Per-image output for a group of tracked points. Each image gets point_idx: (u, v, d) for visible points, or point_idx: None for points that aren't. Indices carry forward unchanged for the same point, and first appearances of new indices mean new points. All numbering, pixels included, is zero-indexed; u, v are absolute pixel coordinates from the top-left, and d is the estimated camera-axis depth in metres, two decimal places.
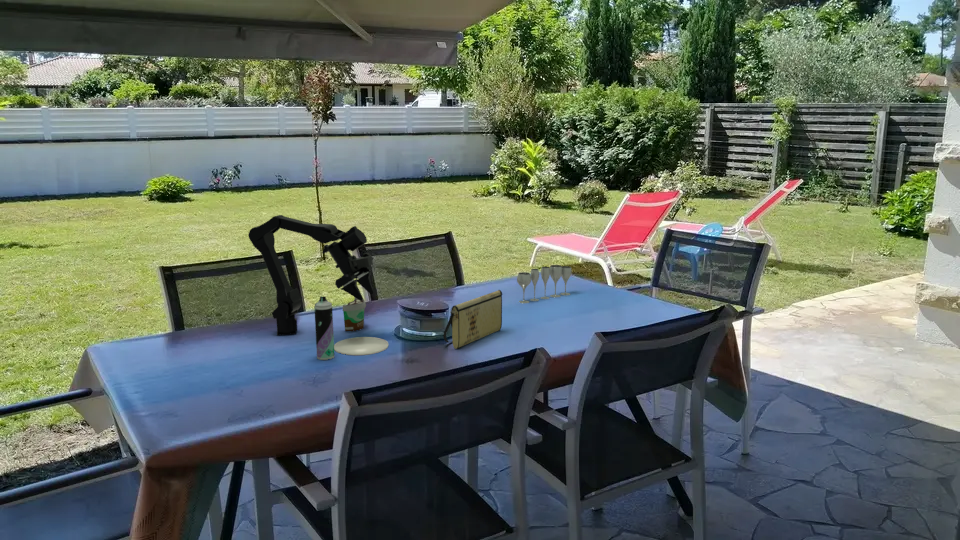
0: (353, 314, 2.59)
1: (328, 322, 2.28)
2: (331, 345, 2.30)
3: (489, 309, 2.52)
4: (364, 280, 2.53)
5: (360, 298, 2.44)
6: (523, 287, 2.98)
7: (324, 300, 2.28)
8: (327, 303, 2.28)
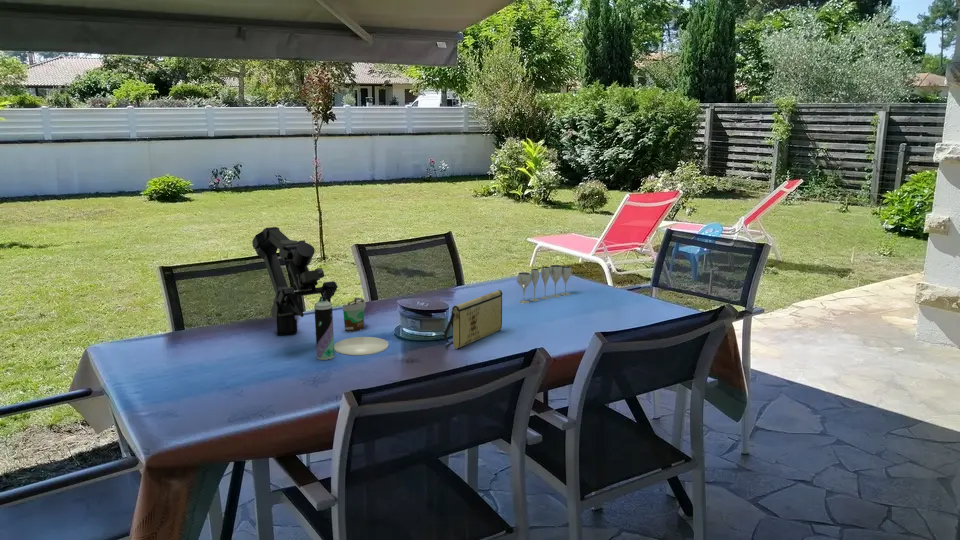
0: (353, 314, 2.59)
1: (328, 322, 2.28)
2: (331, 345, 2.30)
3: (489, 309, 2.52)
4: None
5: (300, 314, 2.32)
6: (523, 287, 2.98)
7: (324, 300, 2.28)
8: (327, 303, 2.28)
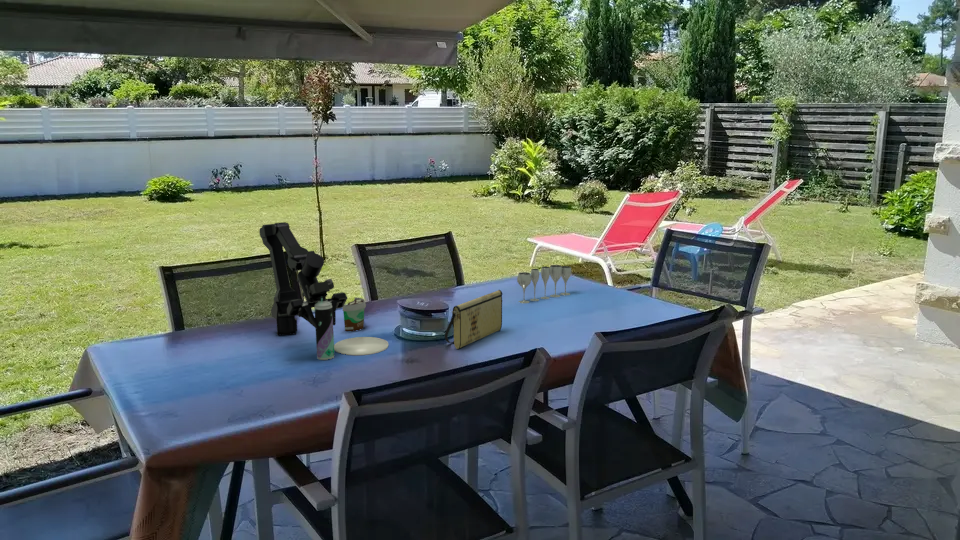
0: (353, 314, 2.59)
1: (328, 322, 2.28)
2: (331, 345, 2.30)
3: (489, 309, 2.52)
4: None
5: (315, 326, 2.28)
6: (523, 287, 2.98)
7: (324, 300, 2.28)
8: (327, 303, 2.28)
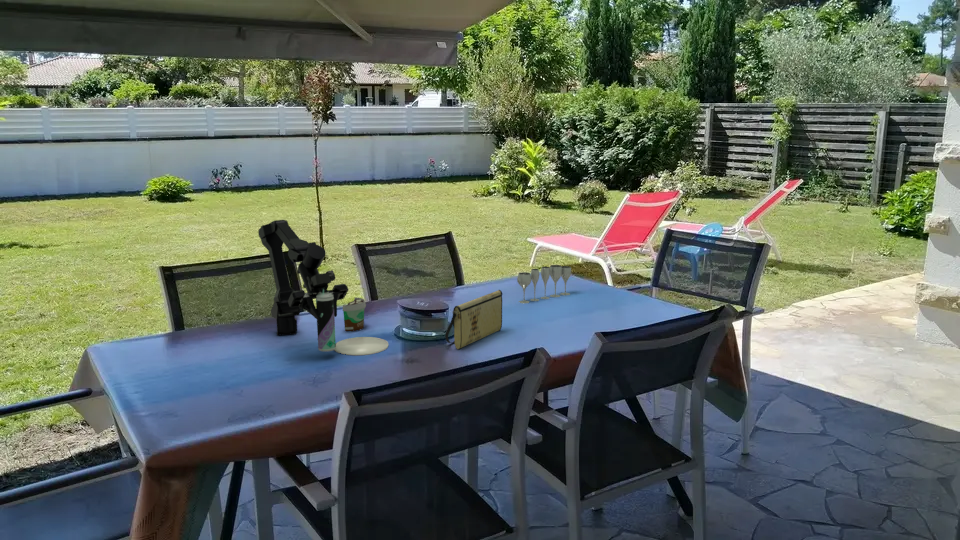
0: (353, 314, 2.59)
1: (330, 314, 2.28)
2: (332, 337, 2.30)
3: (489, 309, 2.52)
4: None
5: (316, 317, 2.28)
6: (523, 287, 2.98)
7: (326, 291, 2.28)
8: (329, 294, 2.28)
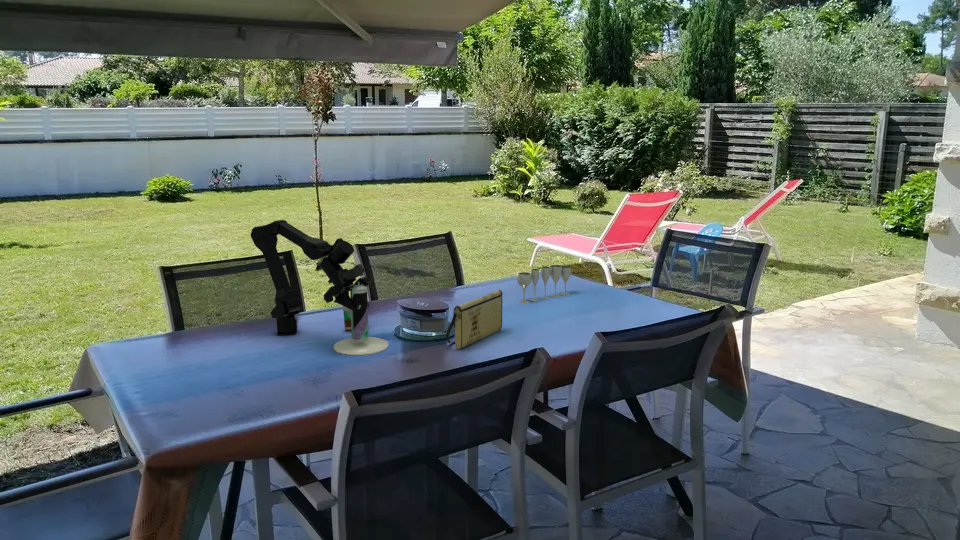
0: None
1: (366, 305, 2.39)
2: (367, 327, 2.41)
3: (490, 309, 2.52)
4: None
5: (354, 309, 2.37)
6: (523, 287, 2.98)
7: (361, 284, 2.38)
8: (364, 287, 2.39)
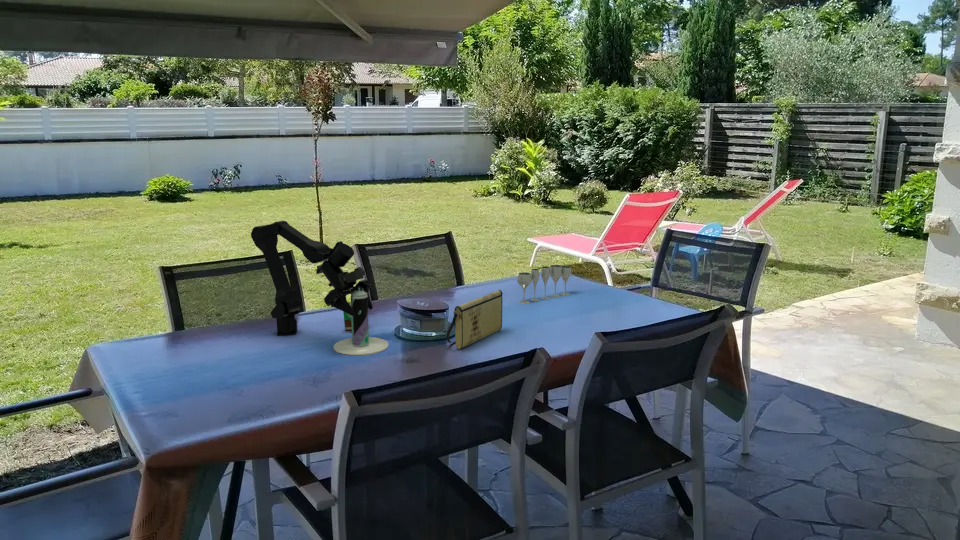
0: None
1: (366, 310, 2.40)
2: (368, 332, 2.42)
3: (490, 309, 2.52)
4: None
5: (352, 313, 2.36)
6: (523, 287, 2.98)
7: (361, 289, 2.39)
8: (364, 292, 2.39)
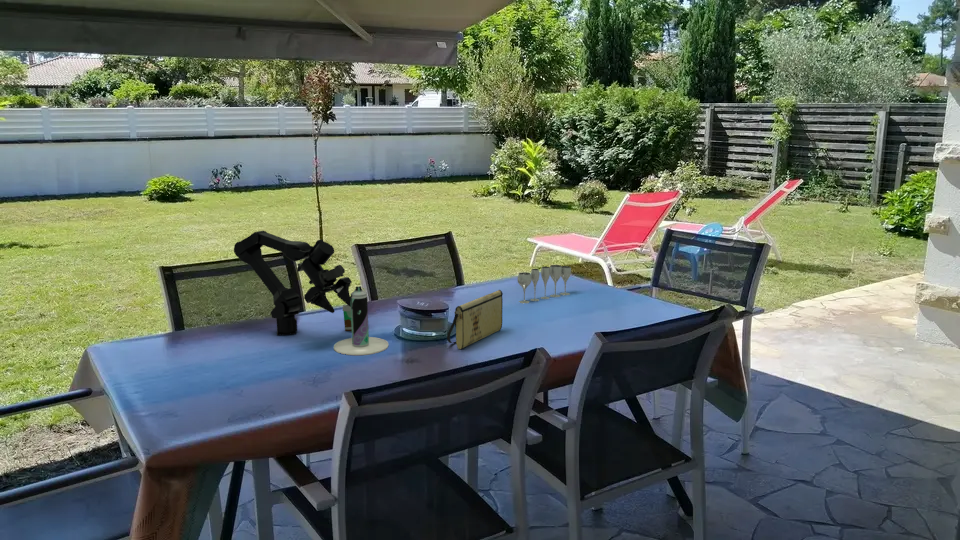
0: None
1: (366, 310, 2.40)
2: (368, 332, 2.42)
3: (490, 309, 2.52)
4: (342, 294, 2.49)
5: (331, 310, 2.40)
6: (524, 287, 2.98)
7: (361, 289, 2.39)
8: (364, 292, 2.39)
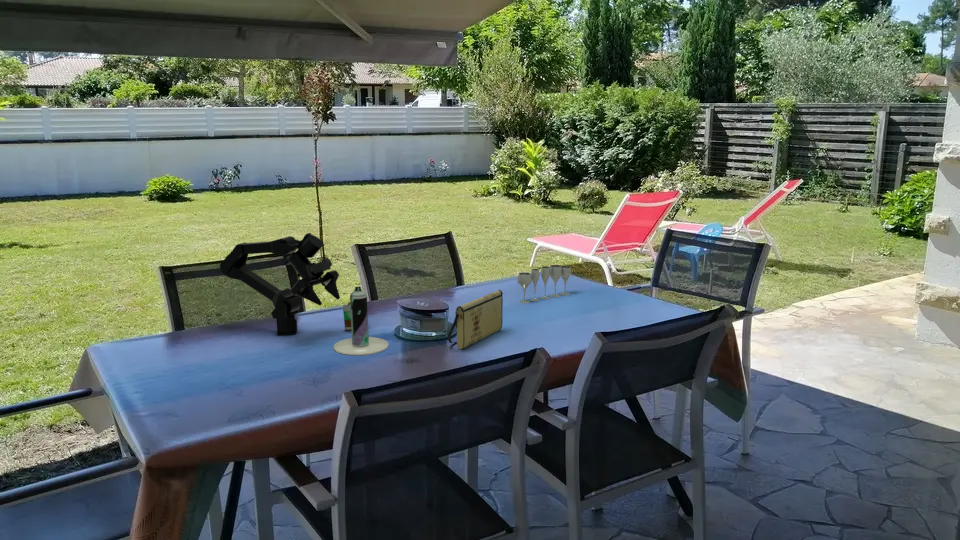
0: None
1: (366, 310, 2.40)
2: (367, 332, 2.42)
3: (490, 309, 2.52)
4: (330, 287, 2.53)
5: (318, 303, 2.43)
6: (524, 287, 2.98)
7: (360, 289, 2.39)
8: (363, 292, 2.39)
